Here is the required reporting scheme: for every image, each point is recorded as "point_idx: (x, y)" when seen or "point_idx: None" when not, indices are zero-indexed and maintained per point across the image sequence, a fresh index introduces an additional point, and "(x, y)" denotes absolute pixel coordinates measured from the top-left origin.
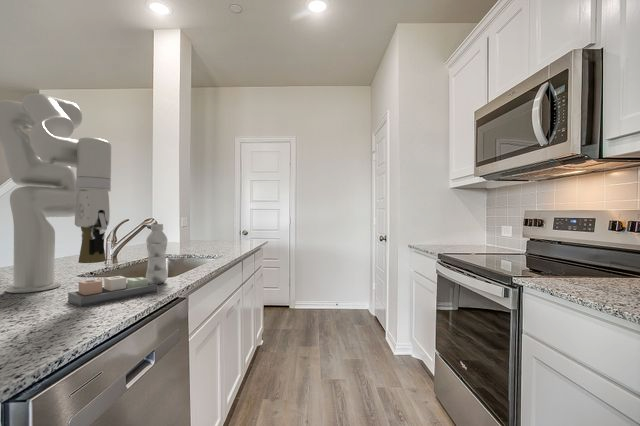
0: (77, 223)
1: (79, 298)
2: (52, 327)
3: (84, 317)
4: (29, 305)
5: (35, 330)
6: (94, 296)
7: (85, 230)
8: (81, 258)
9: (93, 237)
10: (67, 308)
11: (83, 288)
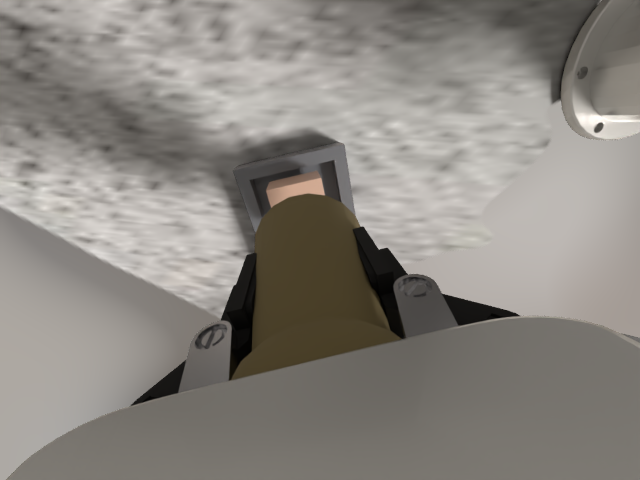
0: (459, 365)
1: (247, 166)
2: (55, 83)
3: (130, 164)
4: (375, 35)
5: (39, 39)
6: (245, 204)
7: (254, 352)
8: (280, 211)
9: (193, 344)
10: (260, 134)
11: (276, 184)
